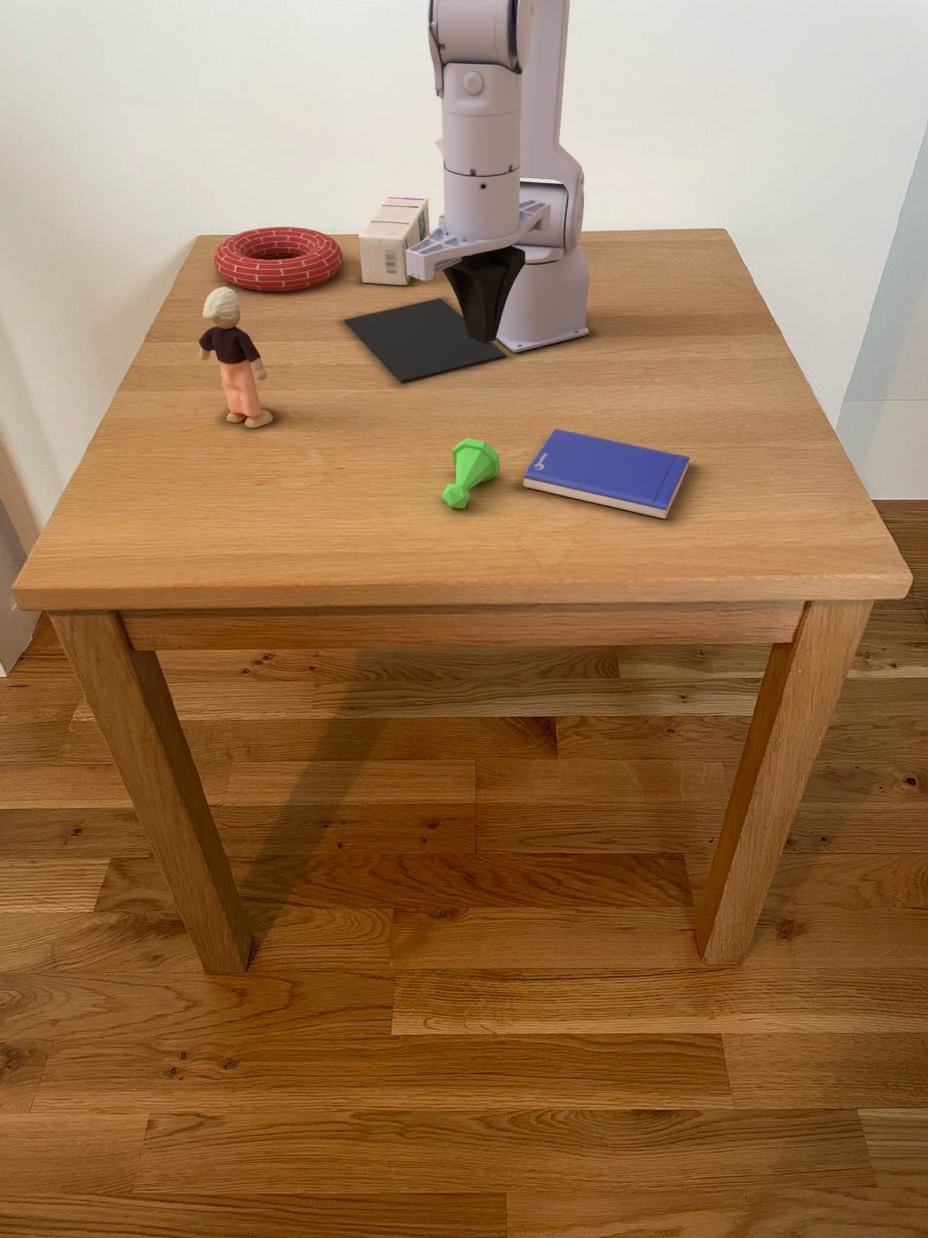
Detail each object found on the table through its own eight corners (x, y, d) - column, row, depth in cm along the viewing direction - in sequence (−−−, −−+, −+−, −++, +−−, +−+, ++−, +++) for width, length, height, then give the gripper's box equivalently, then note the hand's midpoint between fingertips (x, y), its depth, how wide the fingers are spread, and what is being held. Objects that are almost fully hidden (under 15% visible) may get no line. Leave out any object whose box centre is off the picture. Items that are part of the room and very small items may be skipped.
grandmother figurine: (290, 413, 88) (269, 284, 80) (271, 433, 86) (247, 302, 77) (220, 401, 90) (192, 274, 82) (200, 420, 88) (168, 291, 79)
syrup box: (404, 238, 106) (431, 196, 117) (355, 235, 107) (386, 194, 117) (407, 286, 110) (433, 241, 120) (359, 283, 111) (389, 239, 121)
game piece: (468, 478, 81) (442, 525, 78) (446, 440, 79) (418, 488, 75) (509, 473, 79) (484, 522, 76) (488, 434, 76) (461, 484, 73)
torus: (195, 288, 111) (188, 258, 108) (249, 245, 121) (244, 217, 118) (315, 302, 107) (311, 272, 105) (361, 257, 117) (358, 228, 114)
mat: (440, 300, 107) (440, 297, 107) (505, 357, 96) (505, 354, 96) (344, 322, 103) (344, 319, 103) (401, 383, 93) (401, 380, 92)
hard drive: (523, 473, 78) (667, 505, 74) (555, 426, 83) (690, 454, 79) (522, 488, 79) (664, 521, 75) (554, 441, 84) (687, 469, 80)
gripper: (506, 132, 73) (503, 296, 83) (372, 177, 66) (386, 352, 75) (575, 149, 70) (564, 319, 79) (442, 199, 62) (448, 380, 71)
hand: (482, 337), depth 77 cm, fingers closed
